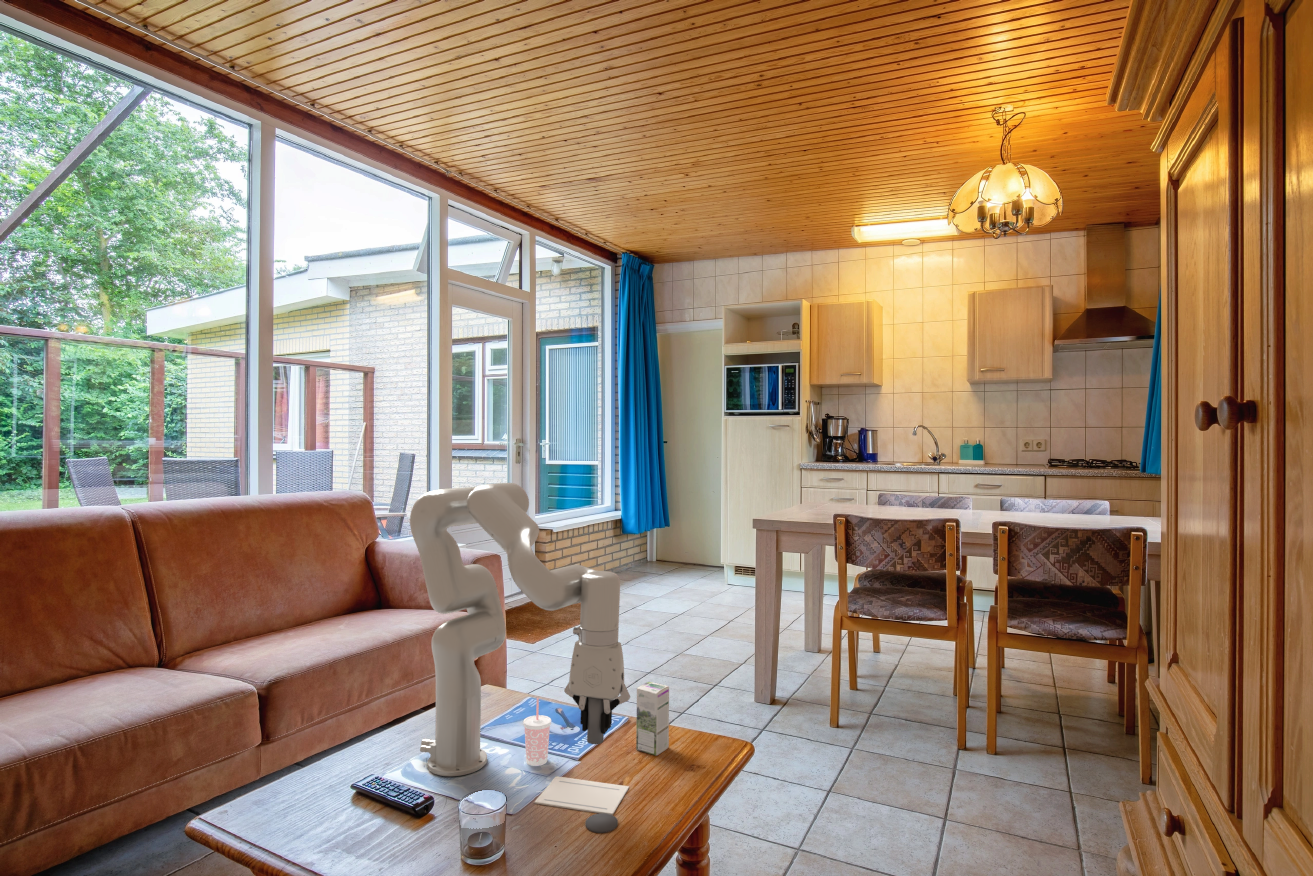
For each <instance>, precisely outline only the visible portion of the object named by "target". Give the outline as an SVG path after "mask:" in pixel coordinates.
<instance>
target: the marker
mask: <svg viewBox="0 0 1313 876" xmlns="http://www.w3.org/2000/svg"><path fill="white" fill-rule="evenodd" d="M603 712H604V701H603V699H599V698H591V697H589V698H588V726H587V730H586V731H587V732H586V734H587V735H586V742H587V743H588V744H590V745H599V744H602V743H604V736H605V734H602V733H601V714H602V713H603Z"/></svg>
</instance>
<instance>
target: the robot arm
mask: <svg viewBox="0 0 1313 876" xmlns="http://www.w3.org/2000/svg"><path fill="white" fill-rule="evenodd" d="M529 507H530V499H529V496H528V493H527V492H526V490H525V489H524V488H523V487H522V486H520V485H519V484H517V483H513V482H502V483H501V482H500V483H497V482H496V483H489V484H488V483H487V484H482V485H479V486H469V487H468V486H467V487H451V488H440V489H435V490H430V491H428V492H426V493H424V494H422V495H420V497H418V498H417V500H416V501H415V502H414V504H413V506H412V507H411V511H410V515H409V526H410V531H411V535H412V538H413V541H414V543H415V545H416V549H417V551H418V554H419V557H420V561H421V568H422V571H423V573H422V574H423V576H424V582H425V587H426V590H427V595H428V599H429V604H430V605H431V608H432V609H433V611H435V612H436V613H438V614H443V615H444V614H445V615H446V614H453V613H456V612H460V611H463V610H466V611H467V614H466V615H462V616H458V617H456V618H453V619H449V620H447V621H445V622H444V623H441V625H440V626H438V627H437V628H436V629H435V631H433V635H432V637H431V652H432V653H431V654H432V656H433V658H432V659H433V663H434V671H435V672H434V673H435V730H434V733H435V734H434V736H435V737H434V739H432V738H431V739H430V738H423V739H422V740H421V742H420V748H419V751H420V753H428V754H429V755H430V756H429V757H428V759H427V763H426V766H427V770H428V771H429V772H431V774H432V773H433V774H435V775H436V776H441V777H442V776H443V777H459V776H464V775H469V774H473V773H475V772H477V771H479V770H481V769H482V768H483V767H485V765H487V763H488V753H487V752H486V751H485V750H483V749H482V748H481V722H482V721H481V720H482V719H481V716H482V715H481V714H482V713H481V712H482V705H481V704H482V702H481V701H482V681H481V675H480V673H479V670H478V669H477V666H476V665H475V659H478V658H480V657H482V656H484V655H488V654H490V653H492V652H494V651H496V650H498V649H499V648H501V646H502V645H503V644H504V642H505V639H506V634H507V633H506V632H507V630H506V621H505V618H504V612H503V608H502V604H501V600H500V595H499V591H498V586H497V583H496V580H495V578H494V576H493V574H492V573H491V571H490V570H489V568H487V567H485V566H483V565H481V564H477V563H476V564H475V563H471V564H467V565H464V562H463V558H462V554H461V550H460V547H459V544H458V542H457V541H456V540H455V538H454V536H453V535H452V534H451V533H450V532H449V531H448V529H449V528H452V527H461V526H467V525H473V524H474V525H475V524H478V525H479V526H480V527H481V528H482V529H483V530H484V531H485V532H486V533H487V535H489V537H491V539H493V540H494V542H496V544H497V545H498V546H499V547H500V548H501V549H502V550H503V551H504V552H505V553H506V555H507V557H506V558H507V565H508V569H509V573H510V575H511V578H512V581H513V583H514V584H515V585H516V586H517V587H518V589H520V591H521V592H522V593H523V594H524V595H525V596H526V598H528V599H529V600H530V601H531V602H532V603H533V604H534V605H535V606H536V607H538V608H540V609H542V610H545V611H551V612H552V611H556V610H560V609H564V608H565V607H569V606H571V605H575V604H579V603H580V617H579V618H580V619H579V620H580V621H579V626H578V627H573V629H572V634H573V635H576V636H577V637H578V640H576V641H575V642H574V646H573V650H572V655H571V661H570V662H571V663H570V670H569V679H568V683H567V685H566V686H565V688H564V689H563V690H564V691H563V692H564V693H565V694H566V695H568V697H570V698H572V699H573V701H574V702H575V704H576V705H577V706H578V710H580V725H582V726H581V728H582V729H581V731H582V732H586V731H587V726H588V698H589V697H591V698H599V699H603V701H604V712H603V713H602V714H601V733H602V734H604V735H605V734H606V733H607V732H608V731H609V730H610V728H612V722H613V721H612V720H613V710H615V709H616V708H617V707H618V706H619V705H622V704H624V703H626V702H629V700H630V699H631V695H630V692H629V690H628V689H627V688H628V687H627V685H626V683H625V663H624V661H625V660H624V655H623V654H624V653H623V647H622V642H619V627H620V626H619V625H620V623H619V622H620V601H621V599H620V598H621V597H620V596H621V579H620V576H619V575H618V574H617V573H615V572H613V571H609V570H595V569H593V568H590V567H588V566H584V565H581V564H572V565H567V566H563V567H559V568H555V569H551V570H550V569H549V568H548V567H547V566H546V565H545V564H544V563H543V562H542V561H540V559H539V557H537V556H536V554H535V553H534V551H533V549H532V547H533V545H534V544H535V542H536V541H537V540H538V536H539V534H540V528H539V525H538V524H537V522H535V520H533V518H531V517H530V516H529V515H528V514H527V512H528V510H529Z"/></svg>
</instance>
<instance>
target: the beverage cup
mask: <svg viewBox="0 0 1313 876" xmlns="http://www.w3.org/2000/svg"><path fill="white" fill-rule="evenodd" d="M539 701H540V697H536V709H535V710H536V715H531V716H527V717H526V718H524V720H523V721H522V722H523V727H524V742H525V763H526V764H527V765H528V766H531V767H537V766H539V767H540V766H542V765H545V764H546V763H547V762H548V757H549V744H550V727H551V726H552V719H551V717H549V716H547V715H542V714H541V715H540V714H539V709H540V708H539V707H540V705H539Z"/></svg>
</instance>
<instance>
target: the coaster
mask: <svg viewBox="0 0 1313 876" xmlns="http://www.w3.org/2000/svg"><path fill="white" fill-rule="evenodd" d="M584 824H585V828H586V829H587V830H588V831H590V832H592V833H596V834H605V833H609V832H610V833H611V832H612V831H614V830H615V829H616V828H617V827H618V824H619V820H618V818H617V817H616V816H614V814H613V815H610V814H605V813H595V814H592V815H590V816H588V817H587V818H586V819H585V823H584Z"/></svg>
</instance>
